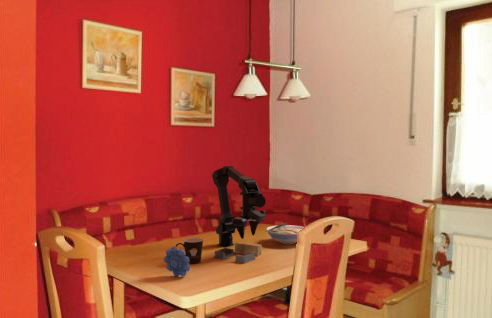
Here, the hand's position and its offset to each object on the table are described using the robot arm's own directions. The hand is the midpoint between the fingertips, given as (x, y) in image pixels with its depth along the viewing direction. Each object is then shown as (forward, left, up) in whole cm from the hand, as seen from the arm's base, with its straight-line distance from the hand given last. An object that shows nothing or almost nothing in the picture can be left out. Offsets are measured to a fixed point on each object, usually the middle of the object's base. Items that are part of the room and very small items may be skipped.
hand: (247, 236), depth 218 cm
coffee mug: (-13, -27, -8) cm, 31 cm away
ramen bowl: (+5, +30, -8) cm, 32 cm away
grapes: (-3, -47, -8) cm, 48 cm away
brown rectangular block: (0, 0, -8) cm, 8 cm away
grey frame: (0, -11, -8) cm, 14 cm away
